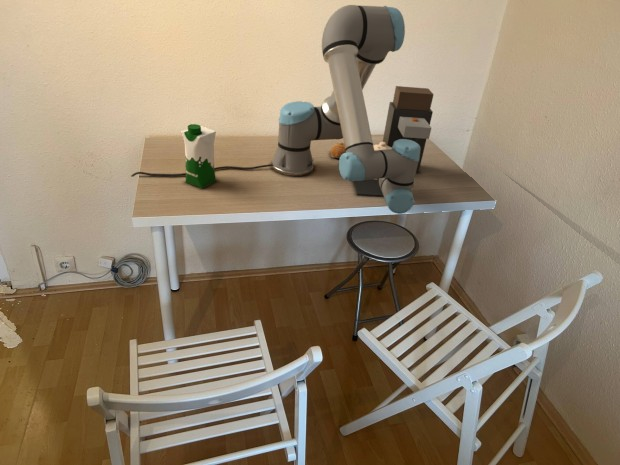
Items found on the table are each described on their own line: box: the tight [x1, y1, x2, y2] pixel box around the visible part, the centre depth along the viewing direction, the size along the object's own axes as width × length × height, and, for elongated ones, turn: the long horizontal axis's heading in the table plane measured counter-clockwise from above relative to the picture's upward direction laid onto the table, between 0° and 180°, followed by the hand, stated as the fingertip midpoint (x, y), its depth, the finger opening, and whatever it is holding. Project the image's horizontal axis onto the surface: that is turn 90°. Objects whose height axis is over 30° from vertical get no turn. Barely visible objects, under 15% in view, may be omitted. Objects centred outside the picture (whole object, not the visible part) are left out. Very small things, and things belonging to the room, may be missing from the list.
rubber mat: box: [352, 179, 384, 198], centre depth 167 cm, size 13×13×1 cm
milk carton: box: [181, 123, 217, 189], centre depth 154 cm, size 9×9×20 cm
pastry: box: [330, 142, 346, 159], centre depth 187 cm, size 9×7×4 cm
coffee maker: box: [382, 85, 434, 174], centre depth 171 cm, size 18×14×30 cm
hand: (377, 149), depth 162 cm, fingers closed on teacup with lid, 9 cm apart
